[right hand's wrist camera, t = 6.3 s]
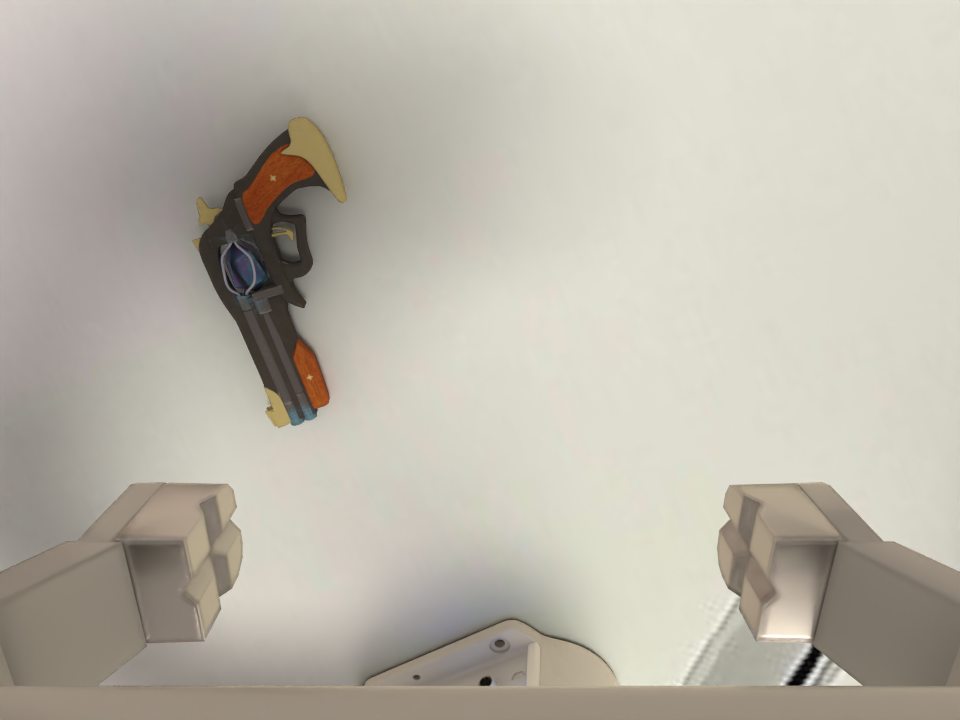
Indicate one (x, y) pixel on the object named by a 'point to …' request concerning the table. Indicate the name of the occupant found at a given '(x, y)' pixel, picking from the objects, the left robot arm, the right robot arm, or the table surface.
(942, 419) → the table surface
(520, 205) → the table surface
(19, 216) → the table surface
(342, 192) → the toy gun
